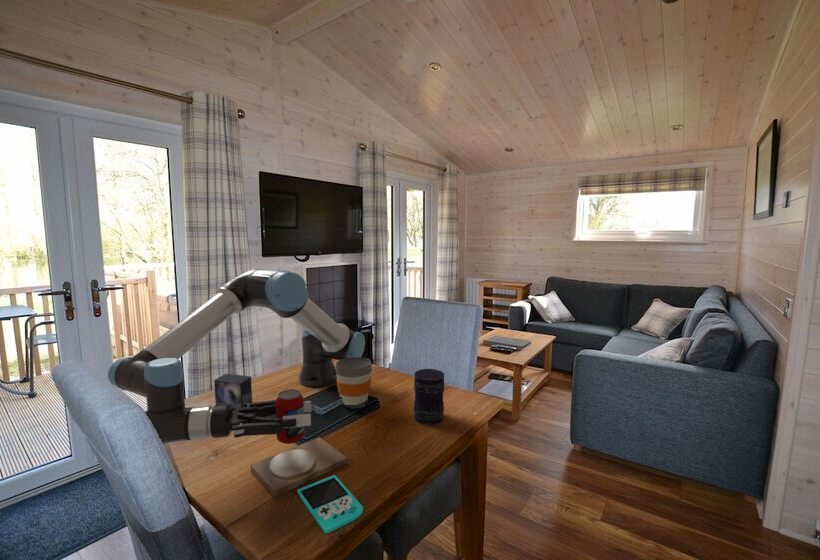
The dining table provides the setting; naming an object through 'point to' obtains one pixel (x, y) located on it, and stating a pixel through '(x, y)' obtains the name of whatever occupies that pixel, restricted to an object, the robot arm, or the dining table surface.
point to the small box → (233, 390)
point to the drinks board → (297, 466)
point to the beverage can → (286, 406)
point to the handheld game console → (330, 503)
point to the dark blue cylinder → (428, 396)
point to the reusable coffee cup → (353, 379)
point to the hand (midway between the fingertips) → (310, 412)
